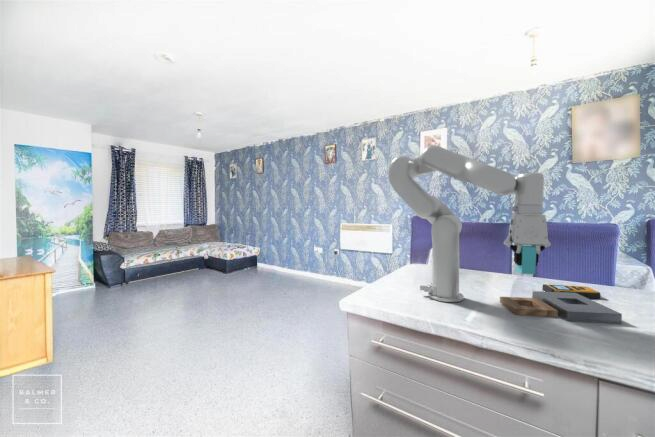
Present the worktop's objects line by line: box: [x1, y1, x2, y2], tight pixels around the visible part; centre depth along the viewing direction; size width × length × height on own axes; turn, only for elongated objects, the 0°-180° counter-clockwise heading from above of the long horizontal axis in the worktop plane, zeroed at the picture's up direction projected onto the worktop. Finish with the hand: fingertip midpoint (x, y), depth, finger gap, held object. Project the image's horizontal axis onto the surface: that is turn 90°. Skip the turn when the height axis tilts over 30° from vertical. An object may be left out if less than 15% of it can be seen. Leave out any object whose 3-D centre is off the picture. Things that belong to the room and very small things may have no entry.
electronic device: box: [542, 284, 601, 300], centre depth 110 cm, size 8×16×3 cm, turn 74°
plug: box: [515, 245, 537, 275], centre depth 95 cm, size 4×4×9 cm
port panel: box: [531, 290, 623, 325], centre depth 94 cm, size 14×20×3 cm
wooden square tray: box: [499, 296, 559, 318], centre depth 96 cm, size 12×12×2 cm
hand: (525, 264), depth 95 cm, fingers closed on plug, 4 cm apart
